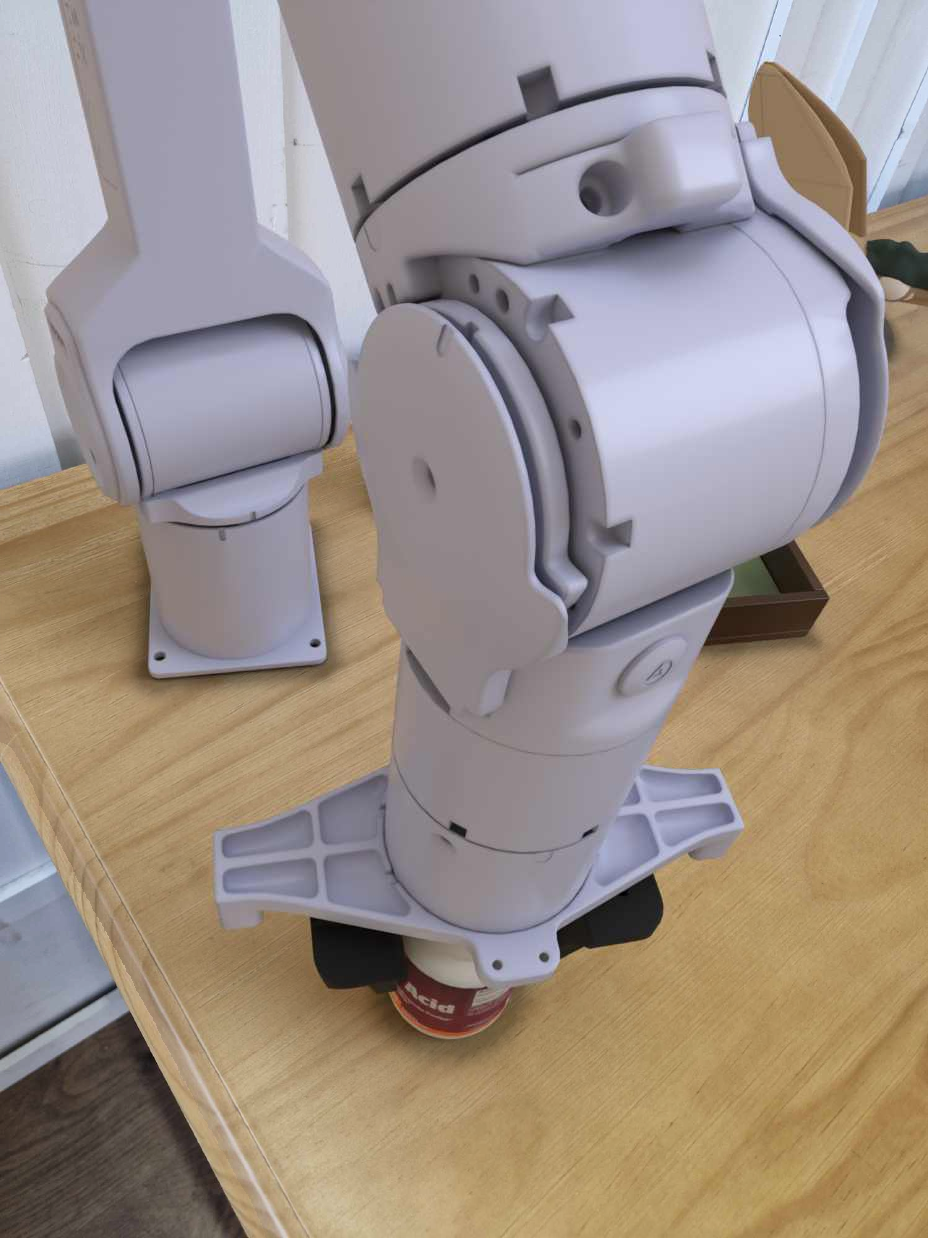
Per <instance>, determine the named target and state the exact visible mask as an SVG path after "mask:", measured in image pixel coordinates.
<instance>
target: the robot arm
mask: <svg viewBox="0 0 928 1238" xmlns="http://www.w3.org/2000/svg"><path fill="white" fill-rule="evenodd" d="M276 2H277V5H278V8H279V12H280V14H281V17H282V21H283V24H284V27H285V30H286V34H287V35H288V39H289V40H288V41H289V43H290V46H291V48H292V53H293V55H294V58H295V61H296V63H297V67H298V71H299V74H300V77H301V80H302V84H303V87H304V91H305V93H306V96H307V100H308V103H309V106H310V109H311V112H312V114H313V118H314V122H315V124H316V127H317V130H318V133H319V137H320V140H321V143H322V146H323V150H324V152H325V155H326V159H327V162H328V165H329V169H330V172H331V174H332V177H333V182H334V184H335V187H336V190H337V194H338V197H339V199H340V202H341V206H342V210H343V212H344V216H345V219H346V222H347V224H348V228H349V231H350V234H351V237H352V240H353V242H354V244H355V249H356V252H357V257H358V259H359V262H360V265H361V268H362V272H363V274H364V278H365V281H366V283H367V288H368V290H369V293H370V297H371V300H372V303H373V307H374V309H375V312H376V314H377V315H376V317H375V318H374V319H373V321H372V322H371V323H370V324H369V327H368V329H367V330H366V333H365V335H364V338H363V341H362V344H361V346H360V351H359V356H358V360H357V359H354V358H352V359H349V360H348V355H347V353H346V349H345V347H344V343H343V342H342V339H341V336H340V332H339V326H338V321H337V316H336V315H337V314H336V310H335V301H334V295H333V290H332V287H331V285H330V282H329V281H328V278H327V277H326V275H324V272H323V271H322V270H321V269H320V267H319V266H318V265H317V263H315V261H314V260H313V259H312V258H311V257H310V256H309V254H307V253H306V252H305V251H304V250H303V249H302V248H300V247H299V246H297V245H296V244H295V243H294V242H292V241H290V240H289V239H286V238H285V237H283V236H281V235H279V234H278V233H276V232H275V231H273V230H271V229H270V228H269V227H267V226H264V224H262V223H260V222H258V215H257V207H256V199H255V192H254V182H253V175H252V169H251V160H250V152H249V145H248V137H247V136H248V135H247V129H246V120H245V113H244V106H243V98H242V90H241V83H240V75H239V66H238V58H237V51H236V43H235V36H234V27H233V26H234V25H233V19H232V11H231V3H230V0H57V5H58V9H59V13H60V18H61V22H62V26H63V31H64V35H65V38H66V43H67V47H68V51H69V57H70V61H71V64H72V69H73V73H74V77H75V78H74V79H75V82H76V86H77V90H78V94H79V95H78V96H79V99H80V103H81V107H82V111H83V116H84V121H85V124H86V125H85V126H86V129H87V133H88V137H89V142H90V146H91V150H92V155H93V160H94V163H95V167H96V171H97V176H98V181H99V185H100V189H101V194H102V197H103V203H104V206H105V210H106V215H107V219H106V221H105V223H104V225H103V226H102V227H101V229H99V231H98V232H97V233H96V235H94V237H92V238H91V240H90V241H89V242H88V243H87V244H86V245H85V246H84V247H83V248H82V250H81V251H80V252H79V253H78V254H77V255H76V256H75V257H74V258H73V259H72V260H71V261H70V262H69V263H68V264H67V265H66V266H65V267H64V268H63V269H62V270H61V271H60V272H59V273H58V274H57V276H55V277H54V279H53V280H52V281H51V283H49V285H48V287H47V288H46V290H45V297H46V298H47V303H46V304H45V306H44V309H43V312H44V316H45V320H46V323H47V327H48V331H49V335H50V338H51V342H52V346H53V350H54V355H53V363H54V370H55V374H56V378H57V382H58V386H59V389H60V394H61V396H62V399H63V402H64V403H63V404H64V406H65V408H66V409H65V410H66V412H67V415H68V418H69V421H70V425H71V427H72V430H73V433H74V435H75V438H76V440H77V444H78V445H79V448H80V451H81V453H82V455H83V456H82V457H83V458H84V461H85V463H86V466H87V467H88V469H89V472H90V474H91V476H92V478H93V480H94V482H95V484H96V486H97V488H98V489H99V491H100V492H101V493H102V494H103V496H105V497H107V498H108V499H111V500H113V501H115V502H116V503H117V504H119V505H120V506H122V507H129V506H132V505H133V509H134V512H135V517H136V521H137V525H138V530H139V534H140V538H141V543H142V547H143V551H144V555H145V559H146V564H147V568H148V572H149V578H150V602H149V630H148V631H149V632H148V655H147V656H148V658H147V659H148V660H147V668H148V672H149V674H150V676H151V677H152V678H155V679H169V678H180V677H191V676H200V675H201V676H202V675H203V676H204V675H213V674H226V673H236V672H246V671H257V670H269V669H270V670H271V669H281V668H292V667H302V666H311V665H312V666H313V665H314V666H315V665H320V664H323V663H324V662H325V661H326V660H327V656H328V655H327V654H328V652H327V651H328V650H327V643H326V634H325V627H324V620H323V619H324V618H323V612H322V611H323V609H322V603H321V596H320V588H319V580H318V570H317V563H316V557H315V556H316V555H315V548H314V540H313V539H314V538H313V532H312V525H311V523H310V506H309V505H310V504H309V503H310V502H309V481H310V480H312V479H313V478H316V477H318V476H322V474H323V451H327V450H331V449H335V448H337V447H339V446H341V444H343V443H344V441H345V439H346V436H347V434H348V431H349V427H350V424H351V426H352V431H353V438H354V444H355V448H356V453H357V457H358V461H359V466H360V470H361V474H362V477H363V481H364V483H365V487H366V490H367V495H368V497H369V500H370V504H371V509H372V514H373V517H374V523H375V531H376V539H377V553H376V554H377V555H376V556H377V557H376V578H375V579H376V582H377V584H378V585H379V587H380V589H381V592H382V593H381V594H382V606H383V609H384V612H385V615H386V617H387V619H388V620H389V622H390V623H391V624H392V626H393V627H394V628H395V630H396V631H397V633H398V634H399V636H400V644H399V645H400V647H399V658H398V667H397V679H396V690H395V701H394V713H393V723H392V727H393V728H392V738H391V749H390V757H389V764H388V765H384V766H383V767H381V768H379V769H375V770H374V771H372V772H369V773H367V774H365V775H363V776H361V777H359V778H356V779H355V780H352V781H350V782H348V783H345V784H343V785H341V786H339V787H336V788H334V789H332V790H330V791H327V792H326V793H323V794H321V795H319V796H317V797H315V798H312V799H310V800H308V801H306V802H304V803H301V804H299V805H297V806H294V807H292V808H290V809H289V810H286V811H284V812H281V813H279V814H276V815H273V816H270V817H269V818H266V819H262V820H259V821H256V822H252V823H248V824H245V825H239V826H233V827H228V828H222V829H215V830H214V831H213V833H212V845H213V852H212V853H213V892H214V893H213V895H214V897H213V898H214V899H213V900H214V905H215V907H216V911H217V916H218V919H219V920H218V921H219V923H220V926H221V930H222V931H225V932H227V931H234V930H240V929H248V928H253V927H257V926H259V925H260V924H261V923H262V921H263V919H264V915H265V912H277V913H285V914H293V915H299V916H303V917H309V925H310V926H309V927H310V935H311V948H312V949H311V950H312V957H313V962H314V963H313V964H314V966H315V968H316V971H317V973H318V975H319V977H320V979H321V981H322V982H323V984H324V985H325V987H326V988H327V989H329V990H330V989H331V990H351V989H352V990H353V989H358V988H363V987H365V988H366V987H369V988H370V989H371V990H372V992H373V993H374V994H375V995H383V994H387V993H389V992H394V991H396V990H397V984H396V981H401V980H406V979H408V971H407V965H406V958H405V952H404V945H403V939H402V935H405V936H410V937H415V938H420V939H426V940H431V941H436V942H441V943H446V944H451V945H456V946H461V947H463V948H465V949H466V950H467V951H468V952H470V954H471V956H472V958H473V961H474V966H475V971H476V974H477V976H478V978H479V980H480V982H481V983H482V984H484V985H485V986H487V987H488V988H491V989H505V988H511V987H515V988H516V987H521V986H522V987H523V986H527V985H533V984H539V983H543V982H545V981H547V980H549V979H551V978H552V976H553V975H554V973H555V971H556V970H557V967H558V966H559V964H560V961H561V960H562V959H564V958H565V957H568V956H569V955H572V954H573V953H575V952H577V951H579V950H581V949H583V948H586V949H588V950H592V949H598V948H605V947H610V946H616V945H622V944H629V943H633V942H634V943H635V942H640V941H644V940H646V939H648V938H651V937H652V935H653V934H654V933H655V931H656V930H657V928H658V927H659V925H660V924H661V923H662V920H663V917H664V909H665V907H664V906H665V905H664V900H663V896H662V894H661V891H660V889H659V888H660V887H659V885H658V883H657V880H656V879H657V878H656V876H655V874H654V873H656V872H658V871H659V870H661V869H662V868H664V867H666V866H667V865H670V864H671V863H673V862H674V861H676V860H678V859H679V858H681V857H683V856H685V855H688V856H689V858H690V859H692V860H694V861H706V860H712V859H717V858H719V859H720V858H723V857H724V856H725V854H726V853H727V852H728V850H729V849H730V848H731V846H732V845H733V844H734V843H735V841H736V840H737V839H738V837H739V836H740V834H741V833H742V832H743V831H744V829H745V827H746V826H745V823H744V821H743V819H742V816H741V814H740V812H739V809H738V807H737V805H736V803H735V800H734V798H733V796H732V794H731V791H730V788H729V787H728V785H727V782H726V780H725V777H724V775H723V772H722V771H721V769H720V768H719V767H708V768H672V767H665V766H659V765H653V764H647V763H645V762H646V760H647V759H648V756H649V754H650V752H651V750H652V748H653V746H654V744H655V742H656V740H657V738H658V736H659V734H660V732H661V730H662V729H663V727H664V725H665V723H666V720H667V719H668V717H669V714H670V712H671V710H672V709H673V706H674V705H675V702H676V700H677V699H678V696H679V694H680V692H681V690H682V688H683V687H684V685H685V683H686V681H687V680H688V679H687V678H688V676H689V674H690V672H691V670H692V668H693V666H694V665H695V662H696V660H697V659H698V657H699V654H700V652H701V651H702V648H703V644H704V642H705V640H706V638H707V636H708V634H709V632H710V630H711V628H712V626H713V624H714V622H715V620H716V618H717V616H718V614H719V612H720V610H721V608H722V606H723V604H724V602H725V600H726V598H727V596H728V594H729V592H730V590H731V588H732V586H733V582H734V571H733V569H732V568H733V567H735V566H737V565H740V564H742V563H744V562H747V561H749V560H751V559H753V558H756V557H758V556H761V555H763V554H765V553H767V552H770V551H772V550H774V549H777V548H779V547H781V546H784V545H786V544H788V543H790V542H791V541H793V540H797V538H799V537H800V536H802V535H804V534H805V533H806V532H807V531H808V530H810V529H813V528H815V527H816V526H818V525H821V524H822V523H824V522H825V521H827V520H828V519H830V518H831V517H833V515H835V514H836V513H837V512H839V511H840V510H841V509H842V508H843V507H844V506H845V505H846V504H847V503H848V502H849V501H850V500H851V498H852V497H853V496H854V495H855V493H856V492H857V491H858V489H859V488H860V486H861V485H862V483H863V482H864V480H865V478H866V477H867V475H868V473H869V472H870V469H871V468H872V465H873V463H874V460H875V458H876V456H877V453H878V450H879V448H880V444H881V441H882V437H883V433H884V430H885V426H886V419H887V413H888V406H889V405H888V404H889V394H890V393H889V391H890V390H889V389H890V382H889V381H890V378H889V377H890V374H889V361H888V357H887V352H886V347H885V342H884V335H883V327H884V317H885V314H886V313H885V312H886V301H885V295H884V291H883V288H882V286H881V284H880V281H879V280H878V278H877V276H876V274H875V272H874V270H873V268H872V266H871V264H870V263H869V261H868V259H867V258H866V256H865V255H864V253H863V252H862V250H861V249H860V247H859V246H858V245H857V243H856V242H855V241H854V240H853V238H852V237H851V236H850V235H849V233H848V232H847V231H846V230H845V229H844V228H843V227H842V226H841V225H840V224H839V223H838V222H837V221H836V220H835V219H834V218H833V217H831V216H830V215H829V214H828V213H827V212H826V211H824V210H823V209H821V208H820V207H819V206H817V205H816V204H814V203H813V202H811V201H809V200H808V199H806V198H804V197H803V196H801V195H800V194H798V193H797V192H796V191H795V190H794V189H793V188H792V187H791V186H790V185H789V184H788V182H787V181H786V180H785V178H784V176H783V175H782V173H781V171H780V168H779V166H778V163H777V160H776V157H775V153H774V149H773V145H772V141H771V138H770V137H762V138H757V136H756V132H755V128H754V126H753V124H752V123H751V122H749V121H746V120H745V121H740V122H739V121H738V122H735V121H734V118H733V115H732V111H731V110H732V109H731V106H730V103H729V100H728V94H727V91H726V86H725V83H724V79H723V75H722V70H721V66H720V62H719V58H718V54H717V50H716V46H715V42H714V38H713V35H712V29H711V26H710V22H709V18H708V14H707V11H706V6H705V3H704V0H276ZM313 645H318V646H316V647H315V646H313ZM160 658H163V659H161V660H157V659H160ZM264 911H265V912H264Z"/></svg>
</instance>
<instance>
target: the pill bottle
mask: <svg viewBox="0 0 928 1238" xmlns="http://www.w3.org/2000/svg"><path fill="white" fill-rule="evenodd" d="M402 939H403V945H404V952H405V958H406V965H407V971H408V979H406V980H401V981H396V984H397V990H396V991H394V992H388V993H389V996H390V999H391V1001H392V1003H393V1005H394V1007H395V1008H396V1010H397V1011H398V1014H400V1016H401V1017H402V1018H403V1019H404V1020H405V1021H406V1022H407V1023H408V1024H409V1025H410V1026H412V1027H413V1028H414V1029H416V1030H417V1031H419V1032H420V1033H422V1034H425V1035H427V1036H429V1037H432V1038H436V1039H442V1040H459V1039H463V1038H468V1037H471V1036H474V1035H476V1034H478V1033H481V1032H483V1031H484V1030H486V1029H487V1028H488V1027H490V1026H491V1025H492V1024H494V1022H495V1021H496V1020H498V1018H499V1017H500V1015H501V1014H502V1013H503V1011H504V1010H505V1009H506V1006H507V1005H508V1002H509V1000H510V999H511V997H512V994H513V992H514V990H515V989H516V987H511V988H505V989H491V988H488V987H487V986H485V985H484V984H482V983H481V982H480V980H479V978H478V976H477V974H476V971H475V966H474V961H473V958H472V956H471V954H470V952H468V951H467V950H466V949H465V948H463V947H461V946H456V945H451V944H446V943H441V942H436V941H431V940H426V939H420V938H415V937H410V936H405V935H402Z"/></svg>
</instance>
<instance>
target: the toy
mask: <svg viewBox="0 0 928 1238" xmlns="http://www.w3.org/2000/svg"><path fill="white" fill-rule="evenodd" d="M747 117H748V122H751V123H752V124H753V126H754V128H755V132H756V136H757V138H762V137H770V138H771V141H772V145H773V149H774V153H775V157H776V160H777V163H778V166H779V168H780V171H781V173H782V175H783V176H784V178H785V180H786V181H787V182H788V184H789V185H790V186H791V187H792V188H793V189H794V190H795V191H796V192H797V193H798V194H800V195H801V196H803V197H804V198H806V199H808V200H809V201H811V202H813V203H814V204H816V205H817V206H819V207H820V208H821V209H823V210H824V211H826V212H827V213H828V214H829V215H830V216H831V217H833V218H834V219H835V220H836V221H837V222H838V223H839V224H840V225H841V226H842V227H843V228H844V229H845V230H846V231H847V232H848V233H849V235H850V236H851V237H852V238H853V240H854V241H855V242H856V243H857V245H858V246H859V247H860V249H861V250H862V252H863V253H864V255H865V256H866V258H867V259H868V261H869V263H870V264H871V266H872V268H873V270H874V272H875V274H876V276H877V278H878V280H879V281H880V284H881V286H882V288H883V291H884V295H885V302H890V303H903V304H909V305H915V306H920V307H926V308H927V307H928V252H921V251H919V250H918V249H917V248H916V247H915V245H914V244H913V243H911V242H910V241H907V240H902V241H895V240H894V239H891V238H877V239H872V240H871V239H870V240H866V239H864V238H865V237H867V236H868V158H867V156H866V154H865V153H864V150H863V149H862V147H861V145H860V144H859V141H858V140H857V139H856V137H855V135H853V133H852V131H850V129H849V128H848V126H846V125H845V123H844V122H843V121H842V119H841V118H840V117H838V115H837V114H836V113H835V111H833V110H832V109H831V107H829V105H828V104H826V102H825V101H824V100H822V99H821V98H820V97H819V96H818V95H817V94H815V93H814V92H813V91H812V90H811V89H810V88H809V87H808V86H807V85H806V84H804V83H803V82H802V81H801V80H799V79H798V78H797V77H796V76H795V75H793V74H792V73H791V72H790V71H788V70H787V69H786V68H784V67H783V66H782V65H780V64H779V63H777V62H776V61H768V60H767V61H764V62H763V63H762V64H760V66H759V68H758V69H757V72H756V73H755V75H754V78H753V82H752V85H751V88H750V90H749V97H748V105H747ZM920 307H917V309H916V310H915V311H914V312H913V316H912V318H911V320H910V321H909V322H908V323H909V324H911V323H912V321H913V320H914V317H915V315H916V313H917V312H918V311H919V309H920ZM883 335H884V342H885V347H886V352H887V358H889V356H890V355H891V353H892V351H893V348H894V343H895V341H894V340H895V339H894V333H893V329H892V327H891V325H890V323H889V322H888V320H887V318H886V317H885V316H884V327H883Z"/></svg>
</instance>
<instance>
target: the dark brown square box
mask: <svg viewBox="0 0 928 1238" xmlns="http://www.w3.org/2000/svg"><path fill="white" fill-rule="evenodd" d="M732 569H733V571H734V582H733V586H732V588H731V590H730V592H729V594H728V596H727V598H726V600H725V602H724V604H723V606H722V608H721V610H720V612H719V614H718V616H717V618H716V620H715V622H714V624H713V626H712V628H711V630H710V632H709V634H708V636H707V638H706V640H705V642H704V644H703V646H713V645H725V644H737V643H745V642H754V641H755V642H756V641H766V640H776V639H778V640H779V639H788V638H798V637H807V636H808V634H809V633H810V630H811V629H812V628H813V626H814V625H815V623H816V621H817V620H818V618H819V617H820V615H821V614H822V612H823V610H824V609H825V607H826V606H827V604H828V603H829V601H830V599H831V597H830V595H829V594H828V593H827V590H825V587H824V585H823V584H822V582H821V581H820V579H819V577H818V576H817V575H816V573H815V571H814V570H813V568H812V566H811V565H810V563H809V561H808V559H807V557H806V556H805V555H804V553H803V551H802V550H801V547H800V546H799V544H798V543H797V542H796V539H794V540H793V541H791V542H790V543H788V544H786V545H784V546H781V547H779V548H777V549H774V550H772V551H770V552H767V553H765V554H763V555H761V556H758V557H756V558H753V559H751V560H749V561H747V562H744V563H742V564H740V565H737V566H735V567H733V568H732ZM703 646H702V647H703Z"/></svg>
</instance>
